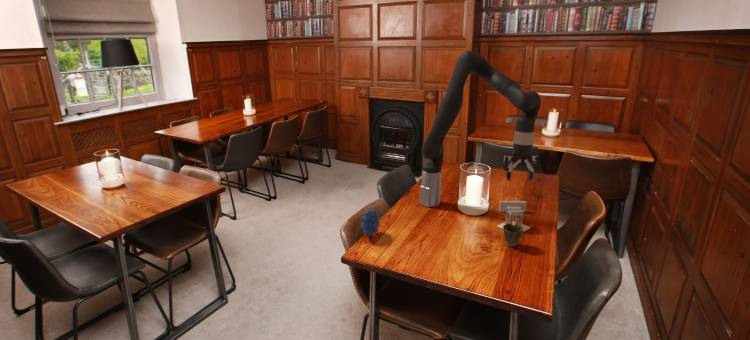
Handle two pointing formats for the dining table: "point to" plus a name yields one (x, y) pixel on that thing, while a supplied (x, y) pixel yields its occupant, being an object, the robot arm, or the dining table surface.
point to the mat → (514, 225)
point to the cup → (512, 234)
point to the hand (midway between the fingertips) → (518, 179)
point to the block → (512, 205)
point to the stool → (514, 211)
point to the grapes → (370, 222)
